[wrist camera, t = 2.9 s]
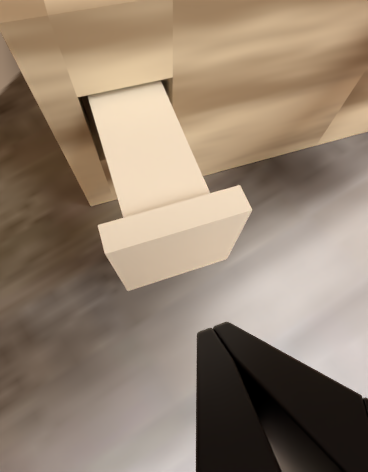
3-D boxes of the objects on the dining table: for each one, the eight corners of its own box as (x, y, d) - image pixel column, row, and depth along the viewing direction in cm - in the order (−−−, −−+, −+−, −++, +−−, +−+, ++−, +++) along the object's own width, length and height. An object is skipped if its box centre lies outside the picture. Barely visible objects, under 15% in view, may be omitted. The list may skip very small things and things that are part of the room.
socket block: (379, 128, 22) (549, -66, 12) (90, 206, 19) (-4, 23, 9) (309, 38, 26) (393, -164, 16) (61, 88, 23) (-27, -130, 13)
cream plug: (227, 258, 14) (252, 210, 9) (127, 291, 13) (104, 254, 9) (153, 85, 18) (147, -4, 14) (76, 101, 17) (43, 13, 13)
